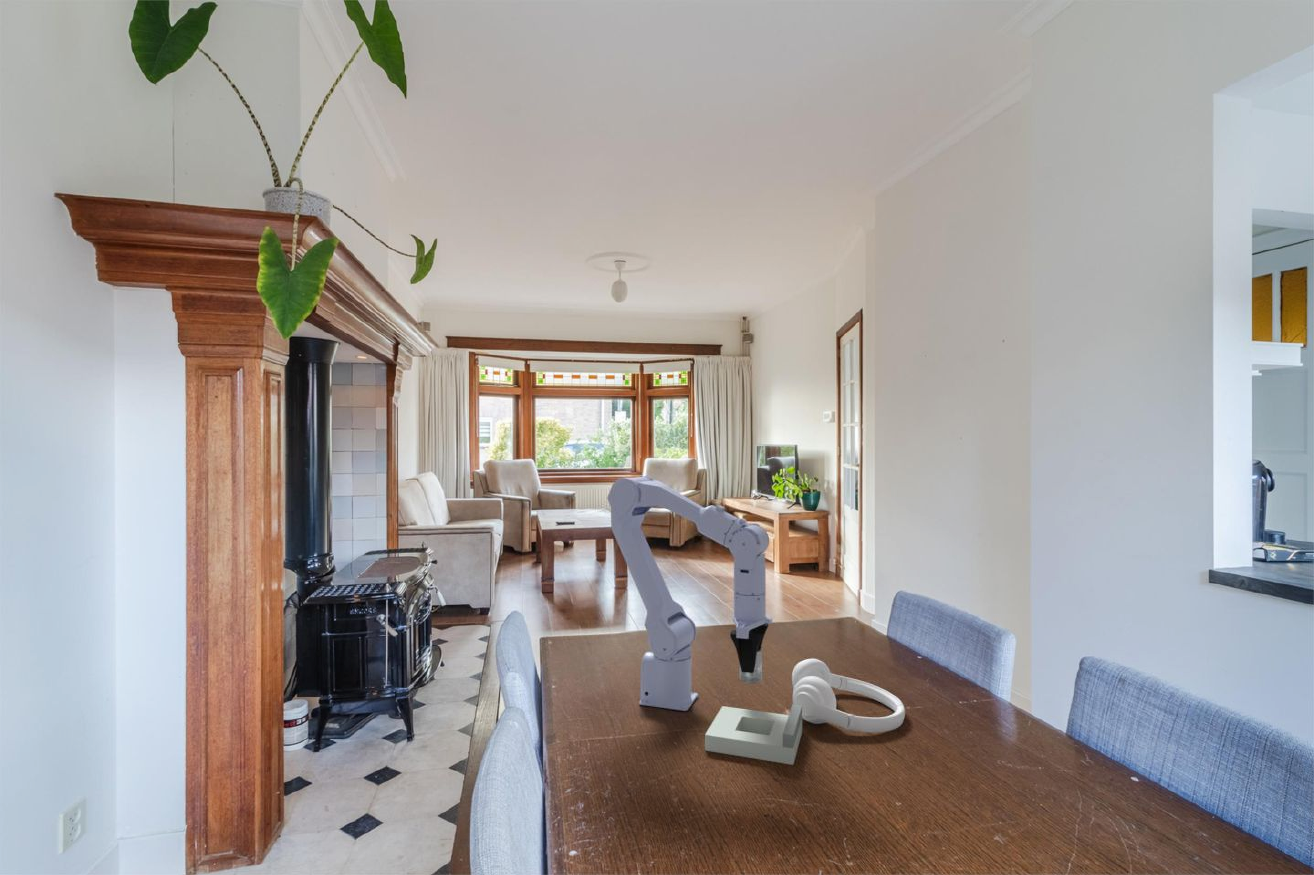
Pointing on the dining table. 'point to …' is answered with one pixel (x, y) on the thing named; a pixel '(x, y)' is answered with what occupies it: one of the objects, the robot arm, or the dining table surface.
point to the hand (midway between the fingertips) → (749, 667)
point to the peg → (757, 673)
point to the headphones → (821, 703)
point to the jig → (771, 746)
